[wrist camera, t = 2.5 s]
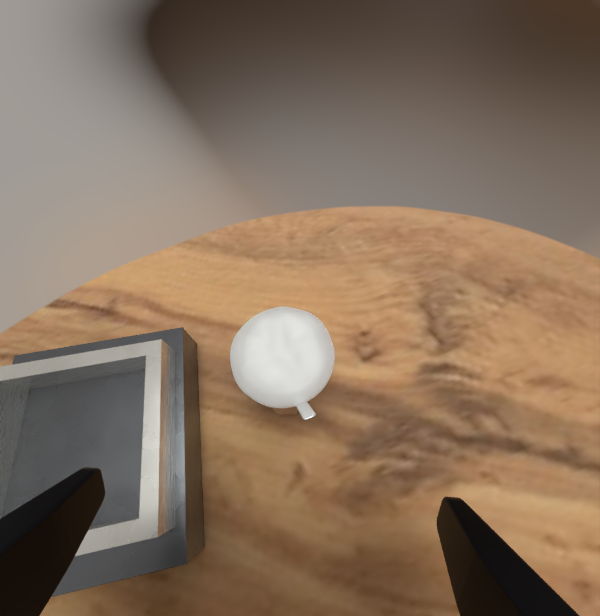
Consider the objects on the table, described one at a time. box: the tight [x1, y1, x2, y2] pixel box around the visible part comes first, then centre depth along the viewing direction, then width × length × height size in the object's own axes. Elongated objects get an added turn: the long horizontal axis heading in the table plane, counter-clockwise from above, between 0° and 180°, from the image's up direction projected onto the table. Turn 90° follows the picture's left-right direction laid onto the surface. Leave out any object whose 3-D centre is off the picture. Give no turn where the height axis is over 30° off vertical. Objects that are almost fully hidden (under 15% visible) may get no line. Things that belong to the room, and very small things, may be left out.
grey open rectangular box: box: [0, 328, 204, 597], centre depth 16 cm, size 12×10×5 cm
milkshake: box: [230, 307, 335, 420], centre depth 15 cm, size 4×5×10 cm
